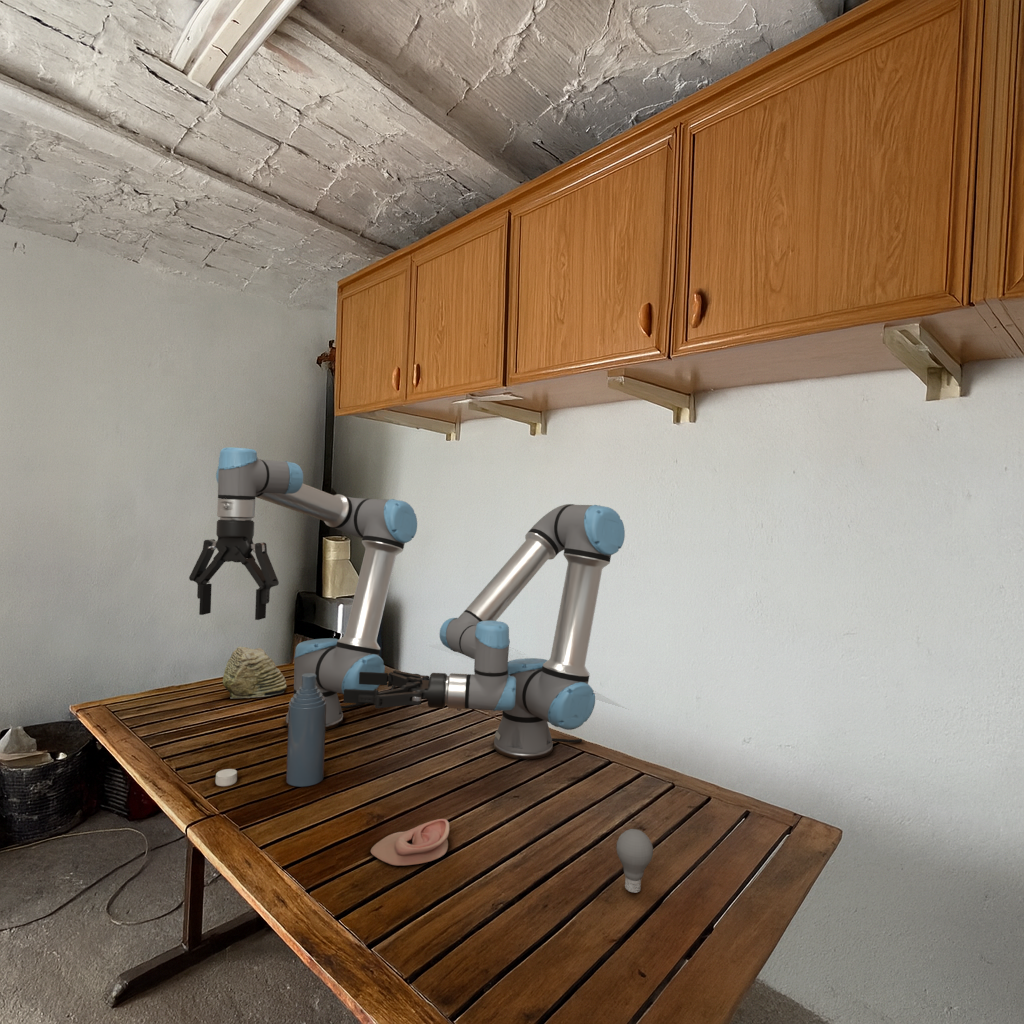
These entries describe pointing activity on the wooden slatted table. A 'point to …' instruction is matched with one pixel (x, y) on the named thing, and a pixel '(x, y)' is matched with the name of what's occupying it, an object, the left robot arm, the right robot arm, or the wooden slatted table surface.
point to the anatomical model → (414, 844)
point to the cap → (226, 777)
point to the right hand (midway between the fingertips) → (351, 686)
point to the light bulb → (634, 857)
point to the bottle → (306, 734)
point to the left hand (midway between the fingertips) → (232, 616)
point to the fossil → (252, 674)
